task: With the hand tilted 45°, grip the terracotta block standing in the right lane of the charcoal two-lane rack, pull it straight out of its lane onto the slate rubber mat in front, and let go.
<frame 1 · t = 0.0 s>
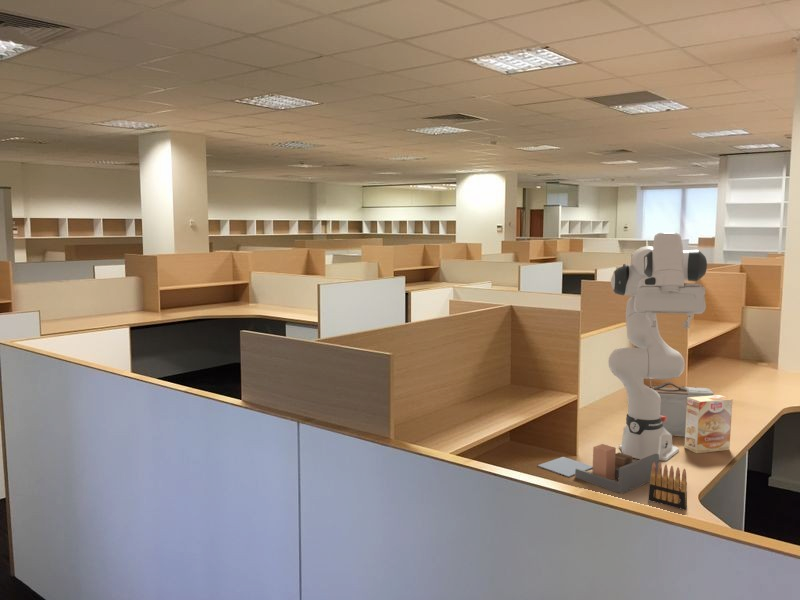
hand: (669, 327, 198), 52 cm above the table, tool tilted 20°, fingers open, 8 cm apart
walnut block: (620, 473, 221), resting in lane rack
lane rack: (614, 477, 217), on the table
coffeecake box: (707, 449, 246), on the table
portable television: (676, 432, 267), on the table
slate mat: (565, 467, 227), on the table
terracotta block: (603, 480, 215), resting in lane rack
ammunition clip: (667, 504, 196), on the table
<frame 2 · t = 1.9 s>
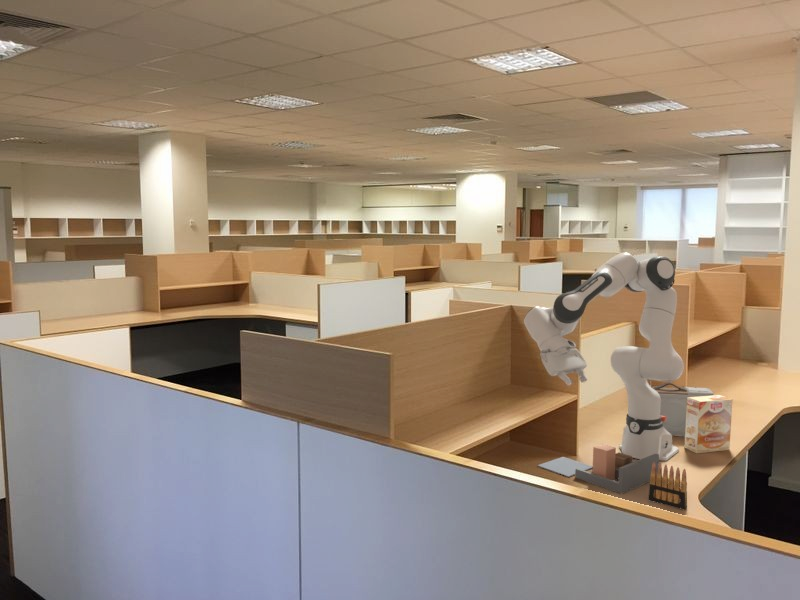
hand: (577, 382, 220), 30 cm above the table, tool tilted 45°, fingers open, 8 cm apart
nothing on the table moved.
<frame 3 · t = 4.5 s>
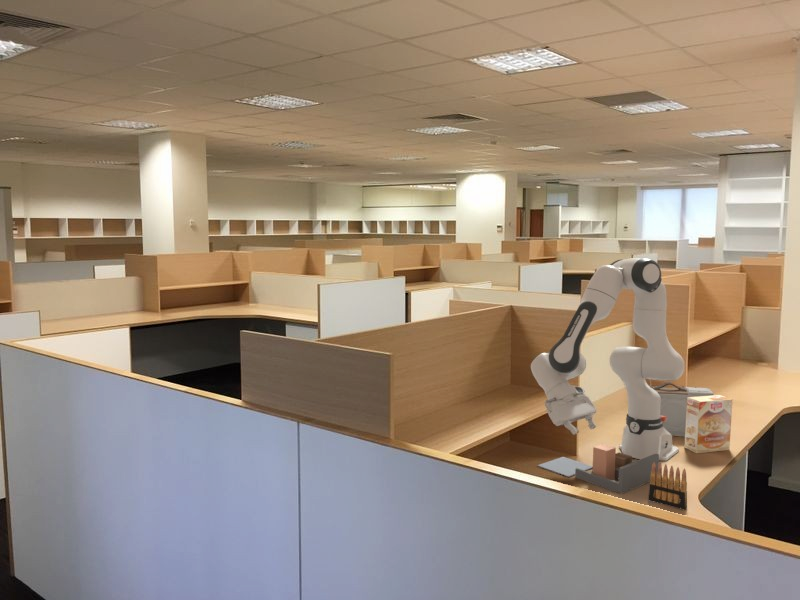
hand: (585, 430, 219), 15 cm above the table, tool tilted 45°, fingers open, 8 cm apart
nothing on the table moved.
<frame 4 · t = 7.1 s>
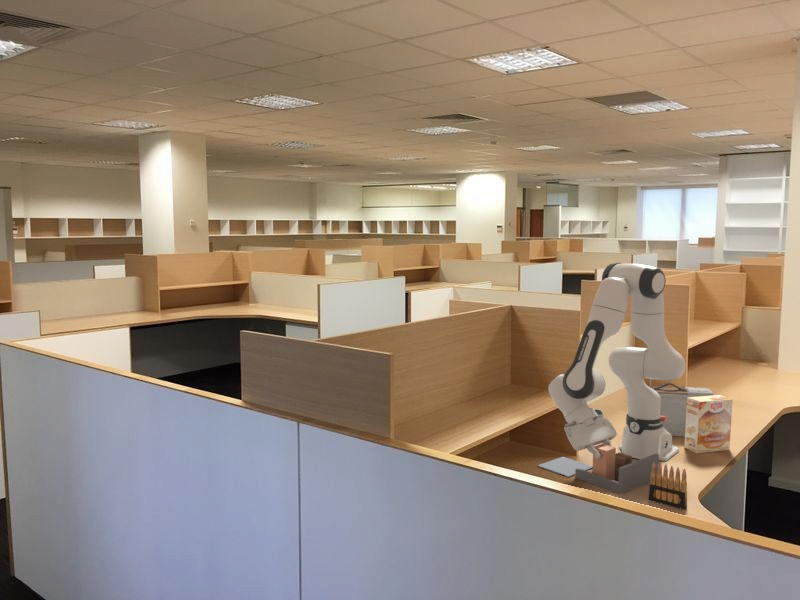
hand: (606, 455, 214), 8 cm above the table, tool tilted 45°, fingers closed on terracotta block, 5 cm apart
terracotta block: (603, 480, 215), resting in lane rack, touching gripper
everything else where it was.
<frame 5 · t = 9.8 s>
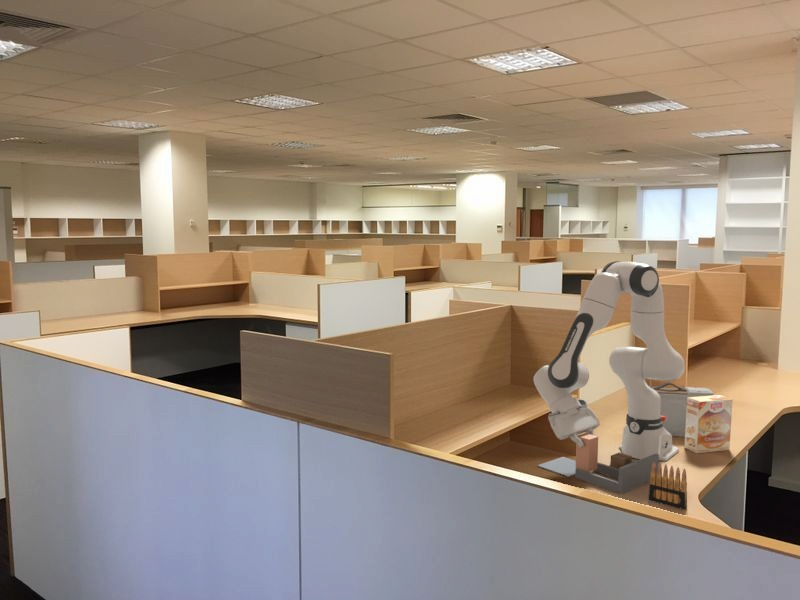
hand: (588, 444, 219), 10 cm above the table, tool tilted 45°, fingers closed on terracotta block, 5 cm apart
terracotta block: (586, 468, 220), point 2 cm above the table, touching gripper
everything else where it was.
when the fingers open (9 cm above the table, at t = 12.1 s): terracotta block stays where it is, resting on slate mat.
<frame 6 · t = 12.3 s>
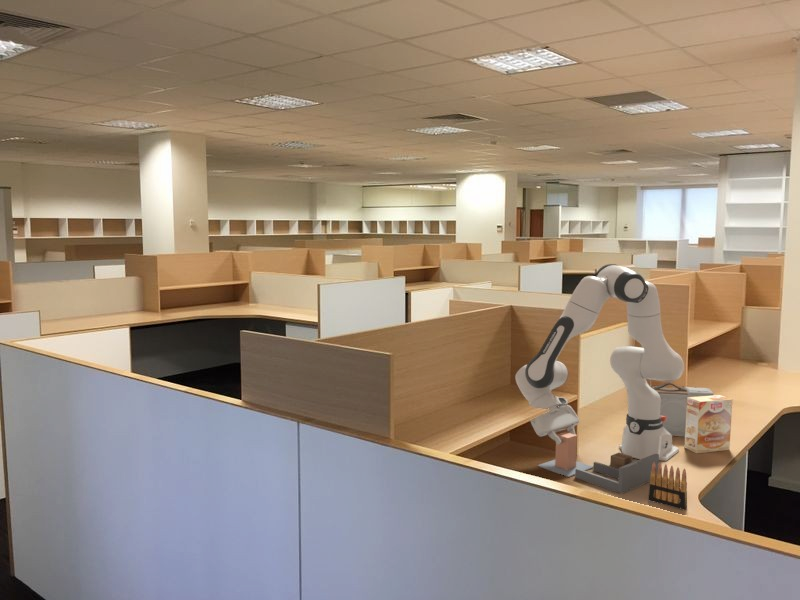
hand: (567, 441, 225), 9 cm above the table, tool tilted 45°, fingers open, 6 cm apart
terracotta block: (565, 465, 227), resting on slate mat
everything else where it was.
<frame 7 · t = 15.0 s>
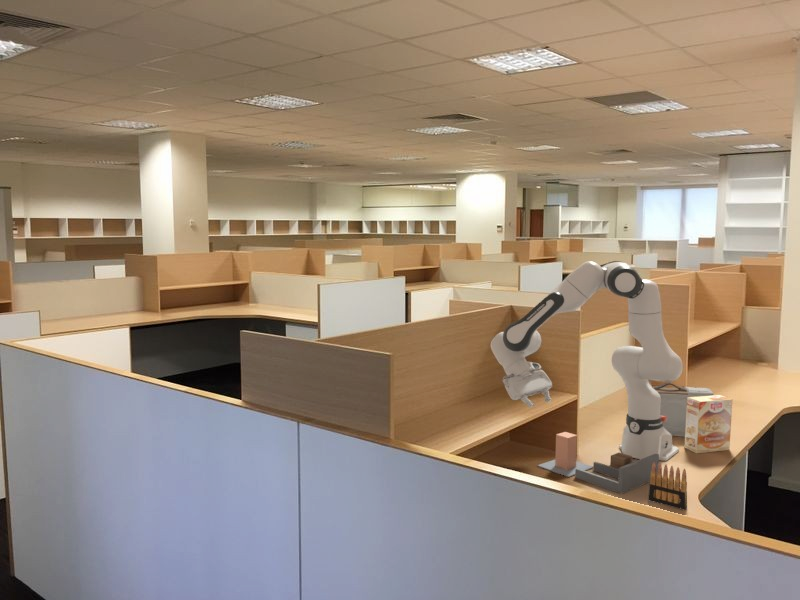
hand: (541, 404, 234), 20 cm above the table, tool tilted 45°, fingers open, 8 cm apart
nothing on the table moved.
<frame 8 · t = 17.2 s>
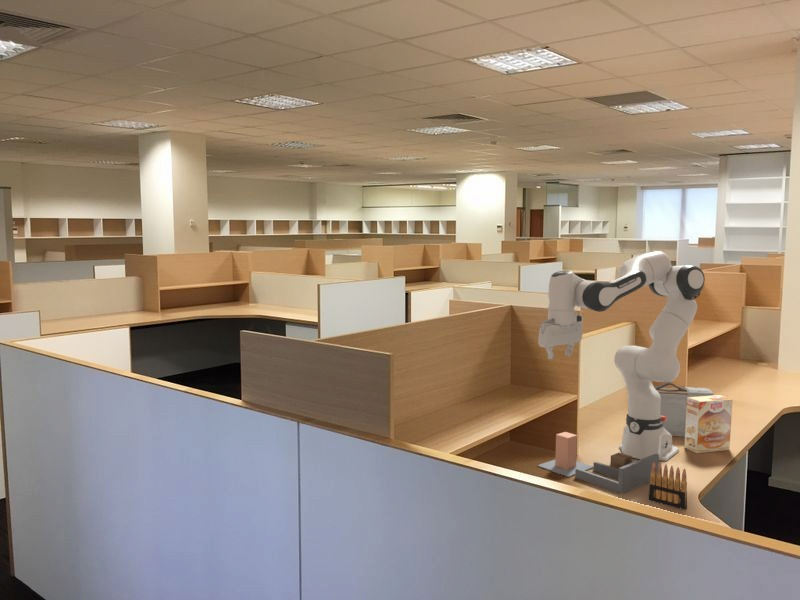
hand: (559, 357, 229), 37 cm above the table, tool pointing down, fingers open, 8 cm apart
nothing on the table moved.
at the end: terracotta block inside the target area (0.0 cm from its centre), resting on slate mat; terracotta block tilted 0°; the gripper is holding nothing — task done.
